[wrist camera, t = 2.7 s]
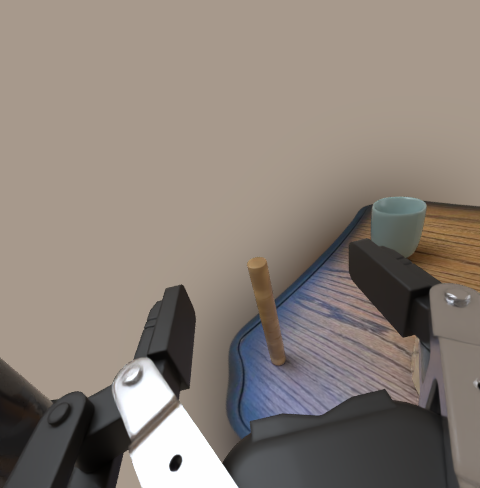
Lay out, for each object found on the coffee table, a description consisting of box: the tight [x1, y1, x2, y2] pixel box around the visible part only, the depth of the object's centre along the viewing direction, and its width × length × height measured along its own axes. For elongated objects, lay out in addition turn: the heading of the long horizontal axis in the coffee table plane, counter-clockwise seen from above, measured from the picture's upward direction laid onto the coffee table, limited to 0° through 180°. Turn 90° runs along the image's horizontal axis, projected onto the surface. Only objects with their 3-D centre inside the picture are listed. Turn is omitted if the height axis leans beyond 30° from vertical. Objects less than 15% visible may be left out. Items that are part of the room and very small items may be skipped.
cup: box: [371, 197, 427, 258], centre depth 42 cm, size 8×8×10 cm
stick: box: [247, 257, 286, 365], centre depth 27 cm, size 2×2×16 cm
